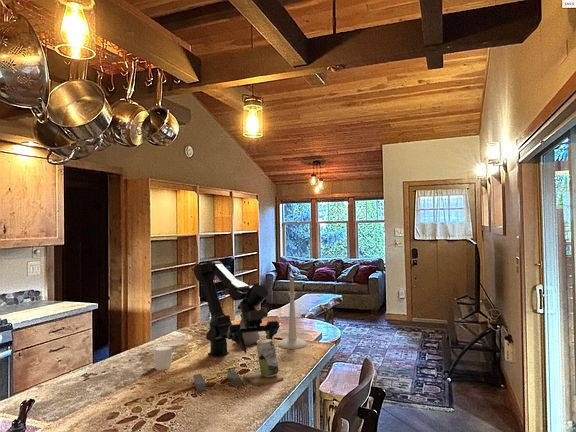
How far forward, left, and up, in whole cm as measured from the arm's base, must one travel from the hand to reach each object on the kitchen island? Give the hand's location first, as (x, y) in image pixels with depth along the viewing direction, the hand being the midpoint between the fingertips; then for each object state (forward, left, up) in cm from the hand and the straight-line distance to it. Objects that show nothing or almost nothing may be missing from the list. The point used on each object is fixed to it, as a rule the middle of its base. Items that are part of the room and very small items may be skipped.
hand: (258, 350), depth 139 cm
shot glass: (-35, -13, -8) cm, 38 cm away
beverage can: (+5, -1, -8) cm, 9 cm away
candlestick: (-11, +38, -8) cm, 40 cm away
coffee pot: (-32, +34, -8) cm, 47 cm away
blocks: (-6, -14, -8) cm, 18 cm away
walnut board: (+4, -2, -8) cm, 9 cm away
